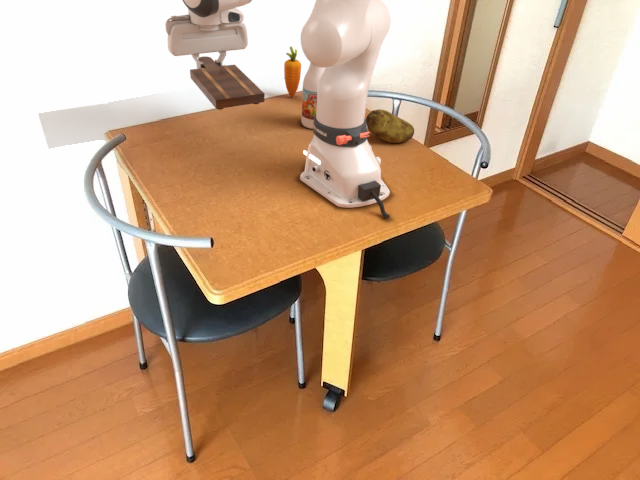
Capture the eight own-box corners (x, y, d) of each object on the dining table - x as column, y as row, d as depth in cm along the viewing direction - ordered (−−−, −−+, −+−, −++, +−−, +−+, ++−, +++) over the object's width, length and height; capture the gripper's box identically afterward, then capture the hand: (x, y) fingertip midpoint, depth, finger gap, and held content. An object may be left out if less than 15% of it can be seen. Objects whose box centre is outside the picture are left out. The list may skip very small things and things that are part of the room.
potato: (408, 151, 145) (413, 122, 140) (361, 141, 147) (364, 113, 142) (414, 137, 151) (418, 110, 146) (368, 129, 154) (371, 102, 149)
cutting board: (264, 105, 132) (264, 92, 130) (216, 112, 127) (215, 99, 126) (224, 65, 152) (224, 53, 150) (181, 70, 147) (180, 58, 145)
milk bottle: (296, 119, 156) (299, 48, 144) (321, 116, 159) (325, 46, 147) (307, 131, 150) (311, 58, 138) (333, 127, 153) (338, 55, 141)
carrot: (299, 101, 166) (301, 51, 157) (282, 100, 166) (283, 50, 157) (300, 94, 170) (302, 45, 161) (284, 93, 170) (285, 44, 161)
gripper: (168, 20, 130) (173, 77, 138) (249, 14, 138) (250, 68, 146) (161, 12, 134) (167, 68, 142) (240, 7, 142) (241, 60, 151)
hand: (209, 68), depth 144 cm, fingers closed on cutting board, 3 cm apart
